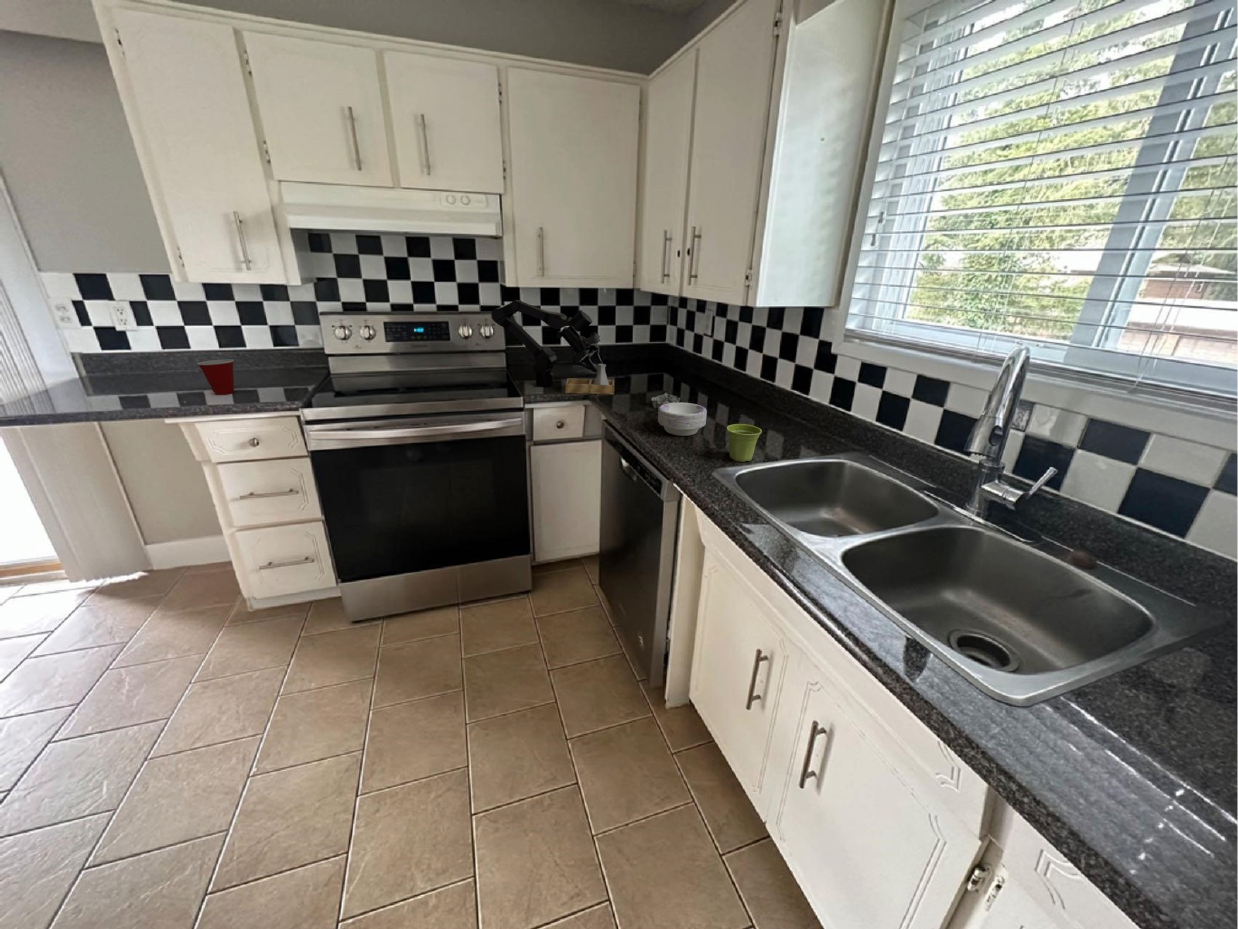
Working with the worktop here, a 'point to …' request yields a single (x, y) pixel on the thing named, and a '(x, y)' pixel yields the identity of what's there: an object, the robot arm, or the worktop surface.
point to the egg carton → (664, 400)
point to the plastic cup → (219, 375)
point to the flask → (601, 376)
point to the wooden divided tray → (588, 386)
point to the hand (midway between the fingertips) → (600, 369)
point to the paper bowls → (682, 418)
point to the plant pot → (742, 441)
